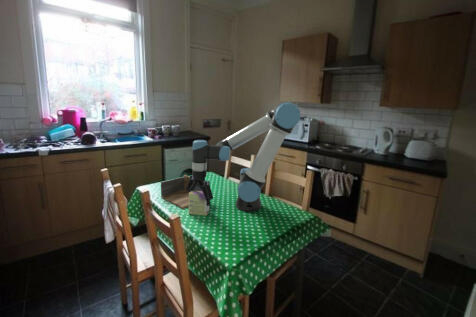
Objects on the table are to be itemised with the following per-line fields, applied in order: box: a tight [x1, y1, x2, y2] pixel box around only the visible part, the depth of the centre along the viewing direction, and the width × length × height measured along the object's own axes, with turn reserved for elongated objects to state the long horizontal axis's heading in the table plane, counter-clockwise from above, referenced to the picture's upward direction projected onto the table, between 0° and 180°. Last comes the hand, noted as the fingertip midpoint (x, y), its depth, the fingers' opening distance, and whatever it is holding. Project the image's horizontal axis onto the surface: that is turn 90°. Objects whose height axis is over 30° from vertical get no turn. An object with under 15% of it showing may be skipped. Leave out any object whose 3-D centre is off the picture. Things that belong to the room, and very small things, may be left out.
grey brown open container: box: [160, 174, 204, 210], centre depth 156 cm, size 22×18×12 cm
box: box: [188, 191, 210, 216], centre depth 139 cm, size 10×6×12 cm, turn 84°
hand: (198, 206), depth 139 cm, fingers open, 13 cm apart
